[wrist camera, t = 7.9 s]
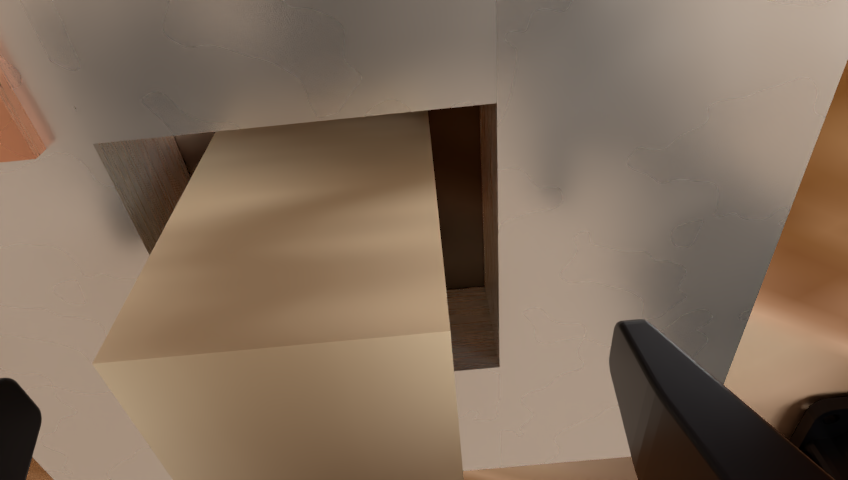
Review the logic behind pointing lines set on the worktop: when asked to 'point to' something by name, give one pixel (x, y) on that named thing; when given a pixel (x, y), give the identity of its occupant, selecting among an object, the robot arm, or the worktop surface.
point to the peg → (296, 312)
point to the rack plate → (500, 173)
